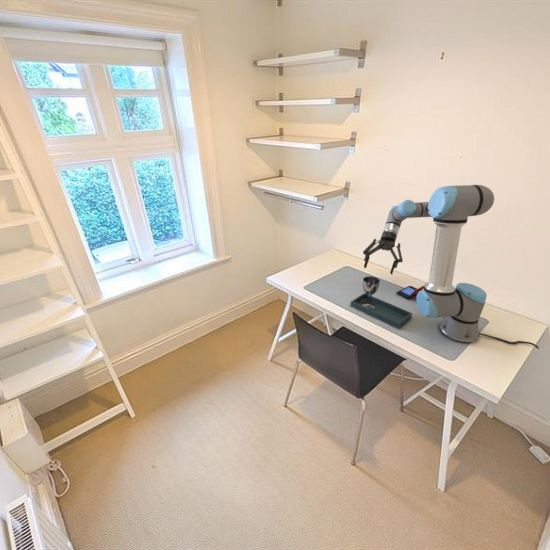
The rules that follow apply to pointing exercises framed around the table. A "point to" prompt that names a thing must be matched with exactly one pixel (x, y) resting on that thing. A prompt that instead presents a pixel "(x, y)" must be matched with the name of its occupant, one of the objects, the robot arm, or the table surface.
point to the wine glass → (370, 289)
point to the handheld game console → (409, 291)
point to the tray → (382, 311)
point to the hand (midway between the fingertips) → (377, 270)
